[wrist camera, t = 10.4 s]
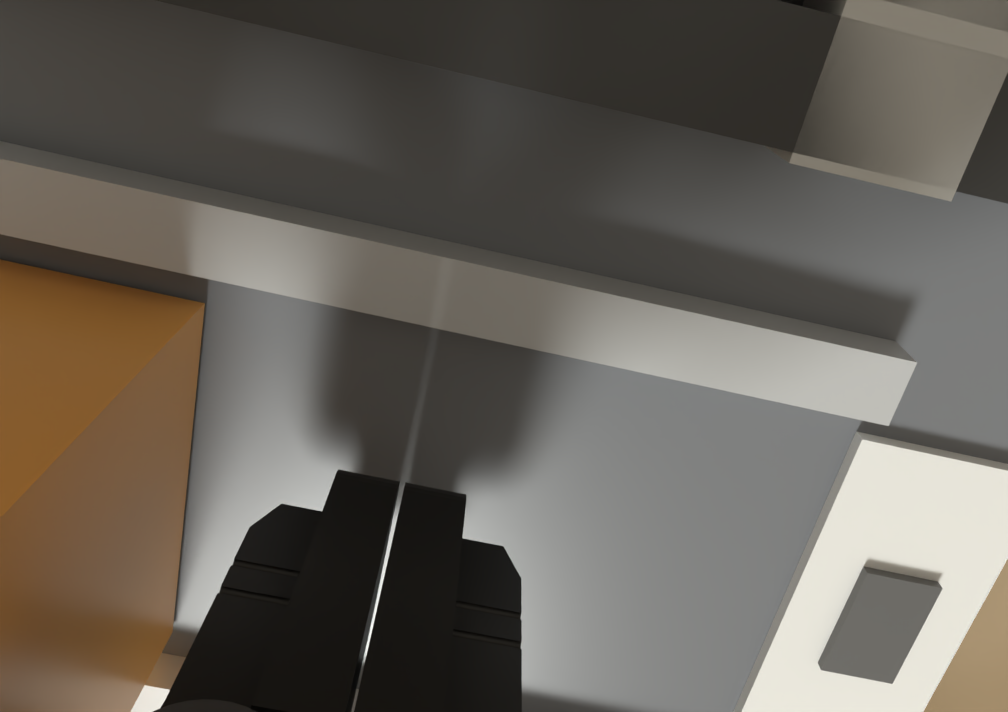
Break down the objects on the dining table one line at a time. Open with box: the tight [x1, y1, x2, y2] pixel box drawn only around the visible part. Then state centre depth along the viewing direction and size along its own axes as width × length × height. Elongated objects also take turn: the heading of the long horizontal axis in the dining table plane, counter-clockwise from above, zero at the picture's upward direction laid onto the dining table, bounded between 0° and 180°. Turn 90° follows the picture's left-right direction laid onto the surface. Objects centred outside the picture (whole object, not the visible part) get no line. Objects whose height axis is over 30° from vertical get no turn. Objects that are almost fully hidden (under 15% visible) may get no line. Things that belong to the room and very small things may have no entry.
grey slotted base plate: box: [156, 0, 1008, 204], centre depth 12 cm, size 17×15×4 cm
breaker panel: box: [0, 0, 1008, 712], centre depth 12 cm, size 22×18×3 cm
